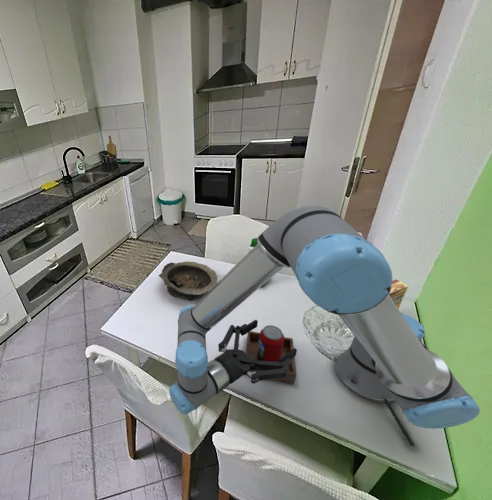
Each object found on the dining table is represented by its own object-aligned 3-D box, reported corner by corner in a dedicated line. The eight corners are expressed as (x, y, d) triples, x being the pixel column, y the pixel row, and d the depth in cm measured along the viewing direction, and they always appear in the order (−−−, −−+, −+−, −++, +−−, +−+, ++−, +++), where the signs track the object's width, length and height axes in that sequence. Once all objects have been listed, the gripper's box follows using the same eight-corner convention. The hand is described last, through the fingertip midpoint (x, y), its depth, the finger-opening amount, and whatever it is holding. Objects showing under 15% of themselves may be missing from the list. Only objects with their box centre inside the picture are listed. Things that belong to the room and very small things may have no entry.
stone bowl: (150, 294, 123) (148, 277, 119) (181, 269, 139) (181, 253, 135) (199, 315, 108) (199, 296, 104) (227, 285, 124) (229, 267, 120)
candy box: (374, 329, 93) (390, 294, 85) (362, 320, 97) (375, 286, 89) (393, 320, 95) (410, 285, 87) (381, 312, 99) (395, 278, 91)
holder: (293, 384, 81) (296, 375, 79) (244, 373, 86) (245, 364, 84) (290, 347, 91) (292, 338, 89) (246, 339, 96) (247, 330, 94)
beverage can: (259, 346, 92) (262, 321, 86) (281, 353, 89) (286, 327, 83) (255, 362, 87) (258, 336, 81) (278, 370, 84) (283, 344, 78)
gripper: (193, 350, 88) (242, 321, 95) (256, 418, 68) (311, 375, 76) (192, 333, 84) (243, 304, 92) (259, 401, 65) (317, 357, 72)
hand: (274, 336), depth 84 cm, fingers open, 13 cm apart
